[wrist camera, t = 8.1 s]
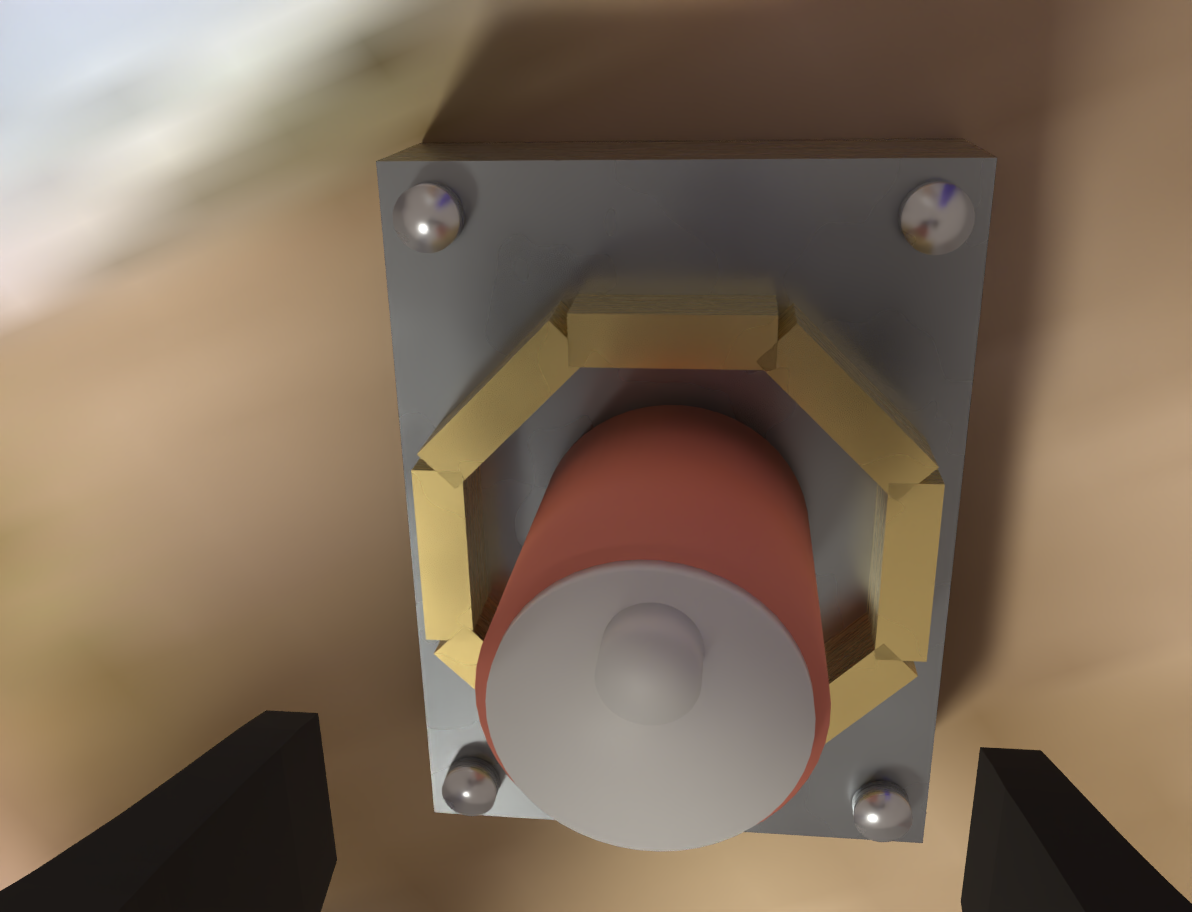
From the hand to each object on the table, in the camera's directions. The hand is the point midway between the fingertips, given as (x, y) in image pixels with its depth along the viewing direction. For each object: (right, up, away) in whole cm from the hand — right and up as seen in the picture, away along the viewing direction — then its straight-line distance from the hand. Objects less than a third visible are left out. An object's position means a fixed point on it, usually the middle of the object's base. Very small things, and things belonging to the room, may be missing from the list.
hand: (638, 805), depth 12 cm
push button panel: (+1, +3, +9) cm, 9 cm away
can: (+1, +3, +6) cm, 7 cm away
